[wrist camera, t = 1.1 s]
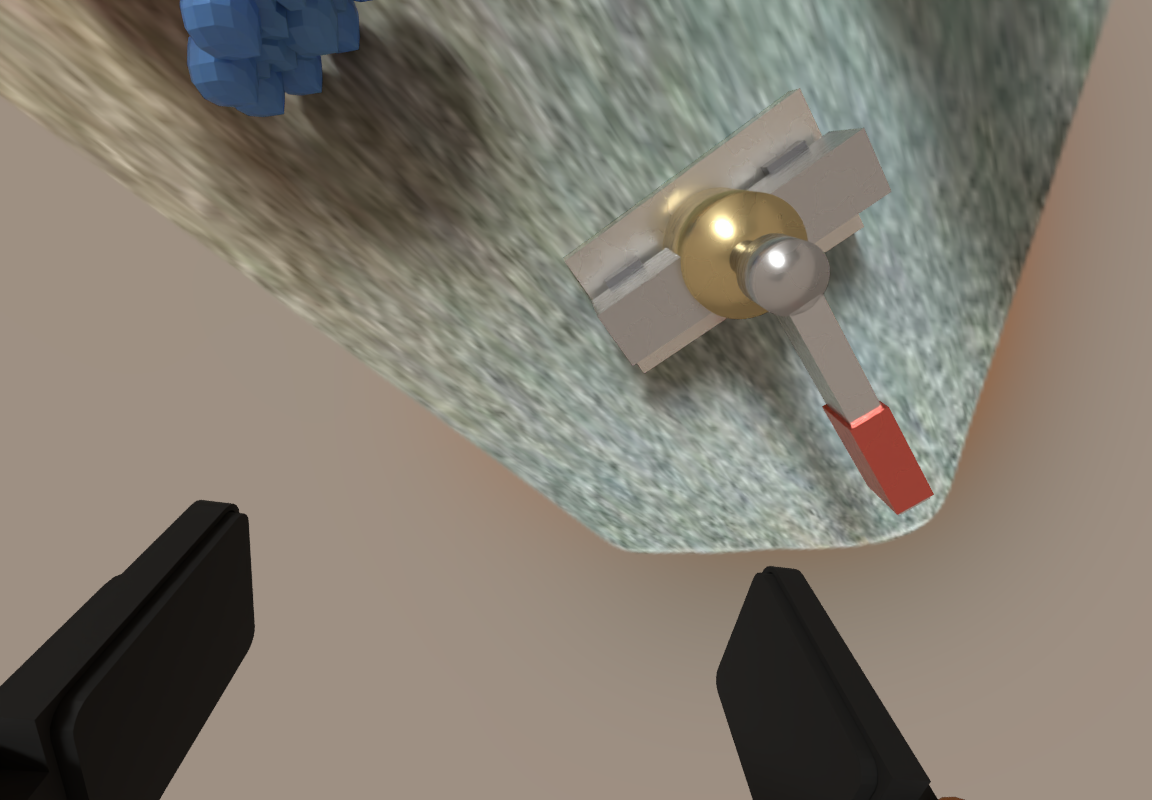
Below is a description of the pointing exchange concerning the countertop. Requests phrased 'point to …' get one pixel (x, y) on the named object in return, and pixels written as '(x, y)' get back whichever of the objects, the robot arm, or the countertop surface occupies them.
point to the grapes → (264, 48)
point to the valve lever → (832, 363)
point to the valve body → (723, 227)
